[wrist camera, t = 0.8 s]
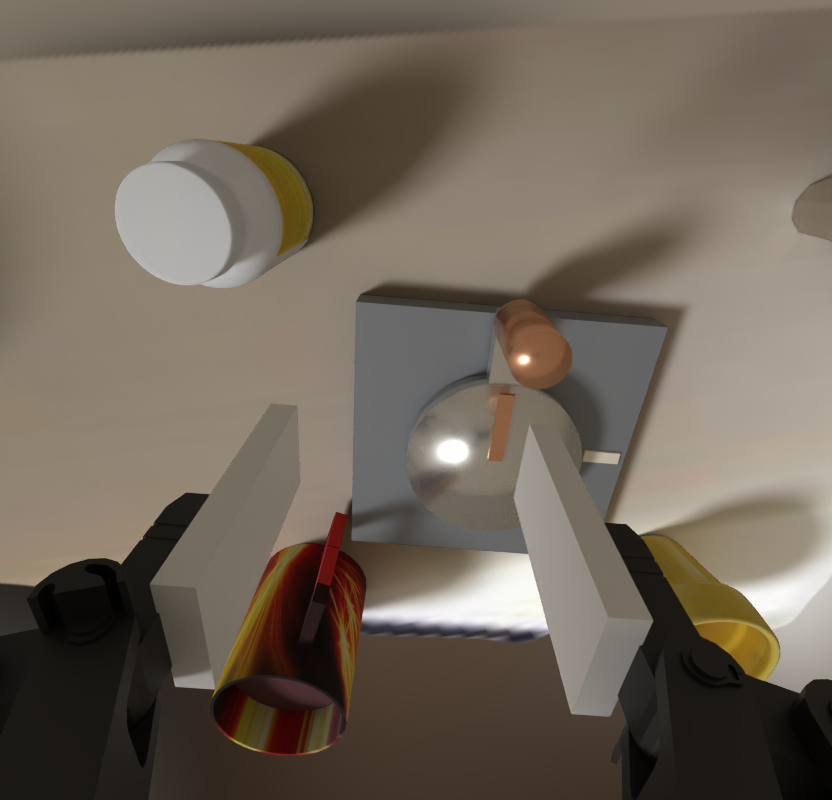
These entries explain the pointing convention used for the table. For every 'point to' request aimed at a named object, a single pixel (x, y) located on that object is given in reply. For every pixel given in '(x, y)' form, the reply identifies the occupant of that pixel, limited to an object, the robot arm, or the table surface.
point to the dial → (491, 424)
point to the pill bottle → (214, 212)
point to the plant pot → (717, 609)
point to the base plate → (468, 356)
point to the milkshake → (815, 210)
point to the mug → (295, 652)
